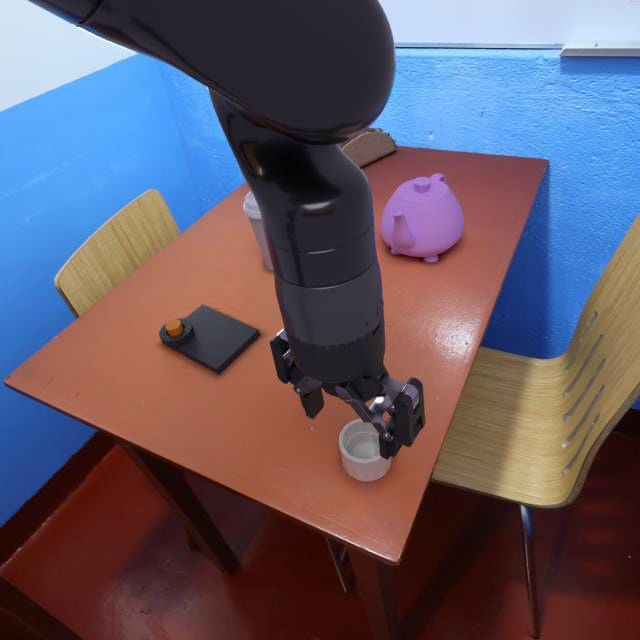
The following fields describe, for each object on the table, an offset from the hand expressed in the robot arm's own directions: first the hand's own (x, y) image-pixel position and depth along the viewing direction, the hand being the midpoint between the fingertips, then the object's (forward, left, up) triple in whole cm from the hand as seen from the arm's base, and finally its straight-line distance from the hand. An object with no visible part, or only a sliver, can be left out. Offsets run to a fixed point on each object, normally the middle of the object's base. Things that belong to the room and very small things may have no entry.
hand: (351, 430), depth 45 cm
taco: (+74, +49, -16) cm, 90 cm away
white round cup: (+5, +3, -15) cm, 17 cm away
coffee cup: (+34, +40, -16) cm, 55 cm away
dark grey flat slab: (+11, +37, -15) cm, 42 cm away
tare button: (+8, +42, -13) cm, 44 cm away
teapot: (+50, +18, -16) cm, 55 cm away
